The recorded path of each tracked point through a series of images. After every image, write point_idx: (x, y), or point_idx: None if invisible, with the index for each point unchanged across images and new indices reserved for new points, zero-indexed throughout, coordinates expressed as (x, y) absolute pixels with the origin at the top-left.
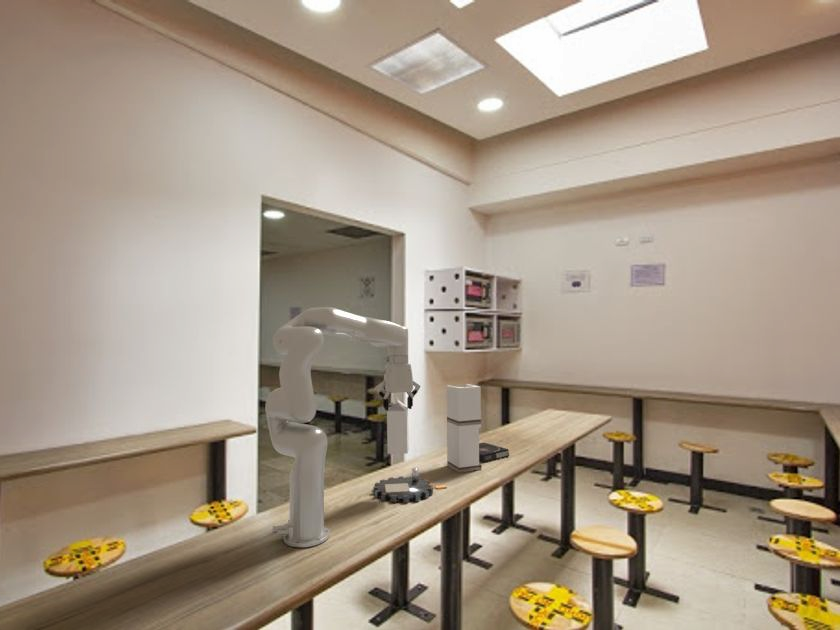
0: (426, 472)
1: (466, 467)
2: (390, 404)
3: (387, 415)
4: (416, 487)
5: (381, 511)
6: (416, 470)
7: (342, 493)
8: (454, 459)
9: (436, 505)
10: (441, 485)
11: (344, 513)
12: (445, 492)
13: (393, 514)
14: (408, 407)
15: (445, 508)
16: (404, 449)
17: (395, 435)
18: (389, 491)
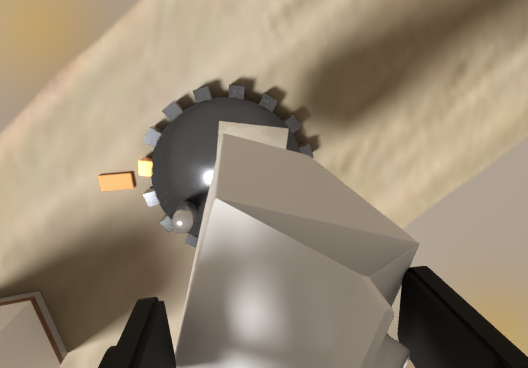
0: None
1: (5, 303)
2: (396, 347)
3: (393, 225)
4: (193, 153)
5: (312, 44)
6: (179, 213)
7: (380, 198)
8: (31, 338)
9: (153, 45)
10: (112, 189)
11: (403, 58)
12: (109, 142)
13: (286, 12)
14: (168, 341)
15: (131, 13)
16: (237, 138)
17: (290, 164)
18: (278, 132)
